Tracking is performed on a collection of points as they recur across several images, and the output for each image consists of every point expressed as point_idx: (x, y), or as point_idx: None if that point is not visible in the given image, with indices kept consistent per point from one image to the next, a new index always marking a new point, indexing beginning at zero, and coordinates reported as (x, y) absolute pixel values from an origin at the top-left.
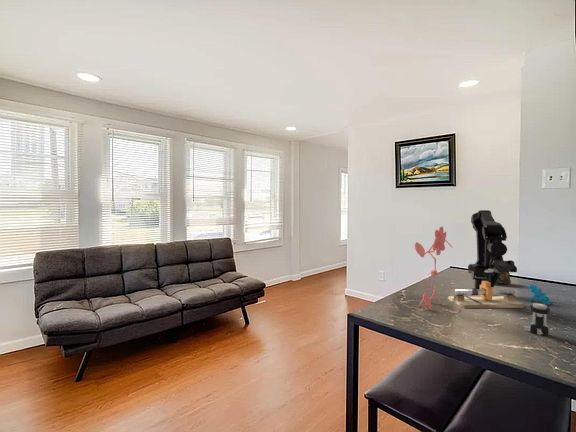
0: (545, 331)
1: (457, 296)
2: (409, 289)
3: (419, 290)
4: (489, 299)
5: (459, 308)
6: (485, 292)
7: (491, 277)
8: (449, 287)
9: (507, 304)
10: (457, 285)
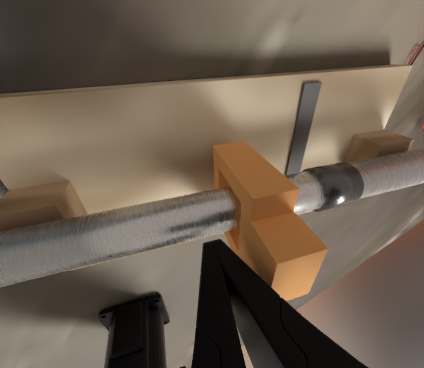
0: None
1: (410, 139)
2: (360, 260)
3: (343, 259)
4: (233, 144)
5: (417, 53)
6: None
7: (316, 353)
8: None
9: (120, 88)
10: (192, 336)
